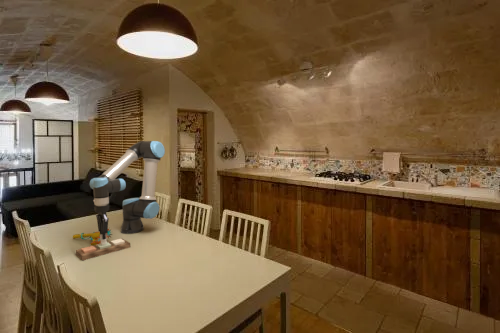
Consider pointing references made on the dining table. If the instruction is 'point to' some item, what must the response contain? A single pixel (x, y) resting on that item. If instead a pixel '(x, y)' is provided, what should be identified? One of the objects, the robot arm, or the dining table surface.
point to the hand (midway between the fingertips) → (103, 244)
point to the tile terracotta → (88, 249)
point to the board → (102, 250)
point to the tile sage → (103, 245)
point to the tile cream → (117, 242)
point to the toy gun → (92, 237)
